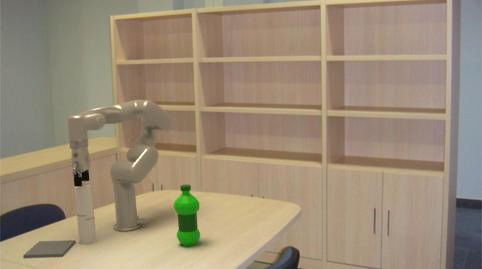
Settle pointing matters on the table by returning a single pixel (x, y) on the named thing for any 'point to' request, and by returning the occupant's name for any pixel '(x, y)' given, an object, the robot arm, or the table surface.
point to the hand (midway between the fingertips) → (82, 183)
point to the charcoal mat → (50, 249)
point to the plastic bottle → (187, 217)
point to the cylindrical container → (85, 214)
